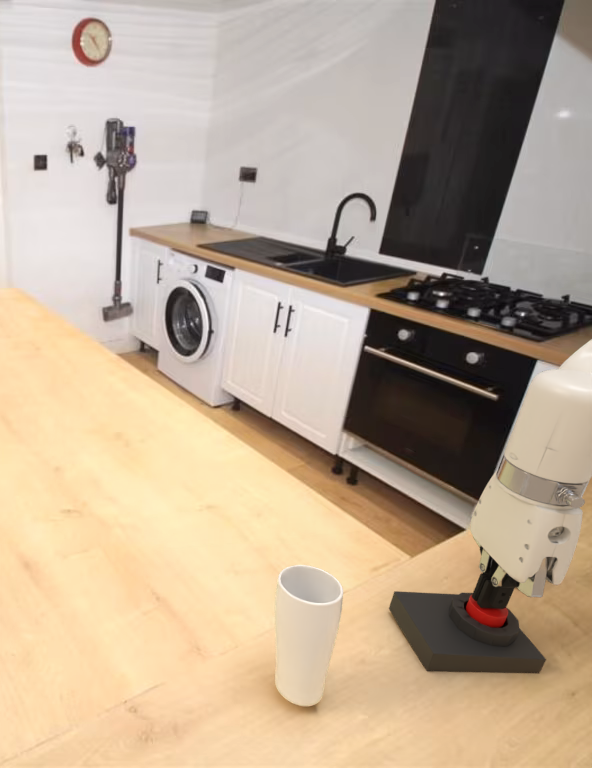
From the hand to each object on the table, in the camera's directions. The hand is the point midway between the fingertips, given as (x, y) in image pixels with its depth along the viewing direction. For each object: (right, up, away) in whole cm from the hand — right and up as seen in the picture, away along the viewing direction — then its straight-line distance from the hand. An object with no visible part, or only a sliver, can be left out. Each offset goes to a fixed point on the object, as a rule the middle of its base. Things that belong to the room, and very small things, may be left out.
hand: (488, 603), depth 67 cm
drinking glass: (-25, -9, -4) cm, 27 cm away
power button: (0, -2, +1) cm, 2 cm away
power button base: (-2, -6, +3) cm, 7 cm away
